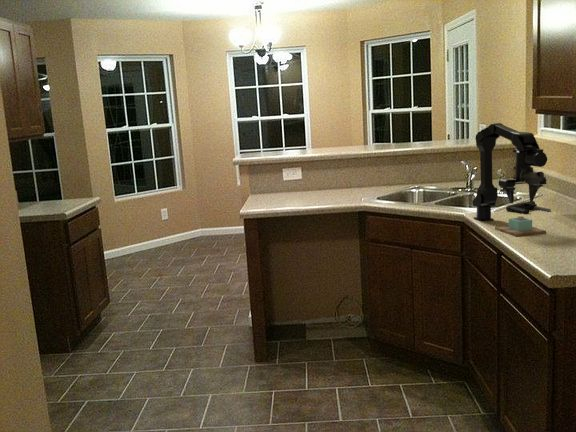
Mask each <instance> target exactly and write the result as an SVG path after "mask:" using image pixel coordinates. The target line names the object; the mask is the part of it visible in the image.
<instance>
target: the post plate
mask: <svg viewBox="0 0 576 432" xmlns="http://www.w3.org/2000/svg"><path fill="white" fill-rule="evenodd" d="M516 218H517V220H519V221H522V220H524V218H525V216H520V215H519V216H517V217H516ZM494 230H495V231H499V232H500V233H501V232H502V233H505V234H508V235H509V236H512V237H523V236H533V235H534V236H535V235H541V234H542V235H543V234H547V230H544V229H541V228H538V227H535V226H532V230H525V231H516V230H513V229H510V228H509V225H502V226H495V227H494Z"/></svg>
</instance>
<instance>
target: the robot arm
mask: <svg viewBox="0 0 576 432" xmlns="http://www.w3.org/2000/svg"><path fill="white" fill-rule="evenodd" d="M500 137H502V138H504V139H506V140H508V141H510V142H511V144H512V145H513V146H514V147H515V148H514V149H513V150H512V153H515V154H516V155H515V166H513V170H515V173H514V175H515V176H514V175H513V177H512V178H509V177H507V178H500V179H499V180H498V186H499V187H501V188H502V189H503V190H504V192H505V194H506V196H507V198H508V200H509V203H510V204H514V198H515V197H514V196H515V195H514V192H515V190H516V187H515V186H516V185H522V184H524V185H525V184H527V185H528V195H529V196H528V197H529V201H531V202H532V201H534V199H535V197H536V194H537V192H538V190H539V189H540V188H542V187H544V185H547V178H546V177H545V173H544V172H543V171H537V172H535V171H534V167H536V168H537V167H538V168H542V167H544V166H545V165H546V164H547V161H548V155H547V154H546V153H545V152H544V148H540V145H539V143H538V141H537V139H536V137H535V134H534V133H532V132H529V131H518V130H516V129H514V128H511V127H509V126H506V125H504V124H503V123H501V122H498V123H497V122H496V123H490V124H489V125H488V126H487V127H485V128H483V129H481V130H480V131H477V134H475V146H476V147H477V149H478V151H479V156H480V157H479V158H480V159H479V160H480V184H479V186H478V188H477V190H476V196H475V197H474V198H473V199H472V201H471V204H472V207H475V208H476V217H475V216H474V217H473V219H474V220H477V221H479V222H485V221H494V218H492V207H495V206H496V204H497V200H498V197H499V196H498V195H499V194H498V190H499V188H498V187H495V185H494V183H493V150H494V148H495V146H496V145H497V143H496V142H497V140H498V139H499V138H500Z"/></svg>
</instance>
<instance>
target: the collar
mask: <svg viewBox="0 0 576 432" xmlns="http://www.w3.org/2000/svg"><path fill="white" fill-rule="evenodd" d="M508 226H509V228H510V229H513V230H516V231H525V230H532V227H533V219H530V218H526V217H524V220H522V221H519V220H517V217H511V218H510V217H509V218H508Z"/></svg>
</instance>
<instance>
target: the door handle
mask: <svg viewBox="0 0 576 432" xmlns="http://www.w3.org/2000/svg"><path fill="white" fill-rule="evenodd" d="M505 210H506V211H507V212H512V213H516V214H517V213H518V214H522V215H528V214H529V213H530V211H532V210H535V211H540V210H541V211H540V212H546V211H547V212H548V213H549V211H550V212H551V208H547V207H543V206H540V205H539V206H538V204H537V203H536V202H535V201H534V200H533V201H532V202H531V201H530V200H529V201H528V200H527V201H523V202H519V203H512V204H509V205H506V206H505Z"/></svg>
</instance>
